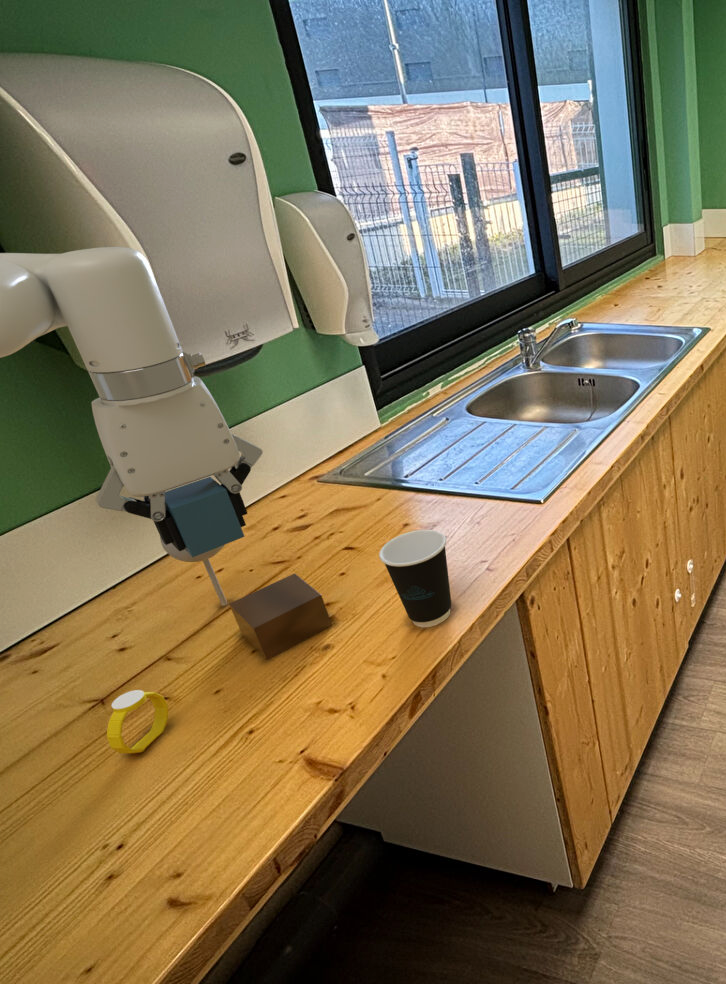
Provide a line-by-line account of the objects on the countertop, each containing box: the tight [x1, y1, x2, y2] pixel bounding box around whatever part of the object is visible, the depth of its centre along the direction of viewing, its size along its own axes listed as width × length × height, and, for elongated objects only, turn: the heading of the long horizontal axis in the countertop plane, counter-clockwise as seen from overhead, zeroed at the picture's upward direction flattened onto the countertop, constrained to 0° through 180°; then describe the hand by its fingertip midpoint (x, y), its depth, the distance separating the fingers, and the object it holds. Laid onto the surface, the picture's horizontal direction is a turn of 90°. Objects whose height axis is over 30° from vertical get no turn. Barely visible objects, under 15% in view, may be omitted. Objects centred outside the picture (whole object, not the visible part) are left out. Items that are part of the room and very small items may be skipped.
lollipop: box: [159, 536, 228, 607], centre depth 93 cm, size 7×7×15 cm
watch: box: [106, 689, 169, 754], centre depth 74 cm, size 6×3×6 cm, turn 177°
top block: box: [165, 476, 245, 557], centre depth 76 cm, size 5×5×6 cm
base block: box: [228, 572, 333, 661], centre depth 90 cm, size 8×8×5 cm
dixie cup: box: [378, 529, 452, 628], centre depth 90 cm, size 8×8×11 cm
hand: (208, 532), depth 77 cm, fingers closed on top block, 5 cm apart
